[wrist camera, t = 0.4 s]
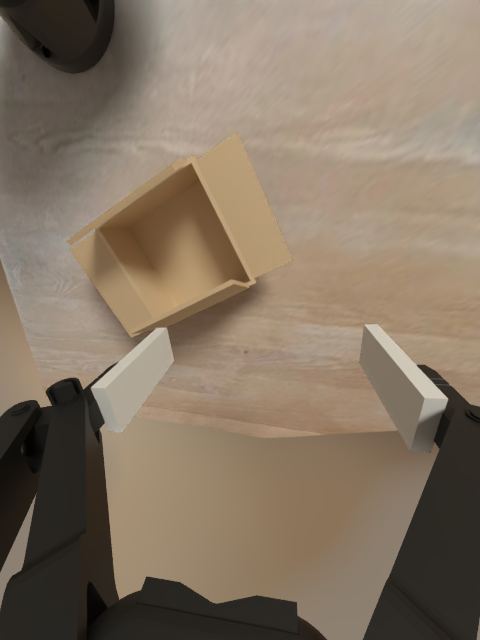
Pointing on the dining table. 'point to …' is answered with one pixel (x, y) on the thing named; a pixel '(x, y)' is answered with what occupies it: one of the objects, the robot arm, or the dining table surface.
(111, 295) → the carton
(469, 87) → the dining table surface
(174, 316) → the flap
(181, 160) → the flap
